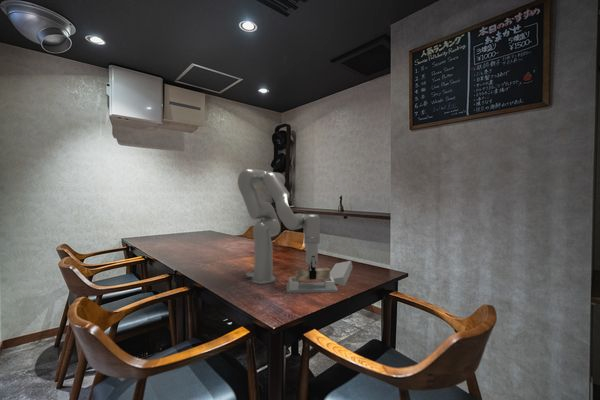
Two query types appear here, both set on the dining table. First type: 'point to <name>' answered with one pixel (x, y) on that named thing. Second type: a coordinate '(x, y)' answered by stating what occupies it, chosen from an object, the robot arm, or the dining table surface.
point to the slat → (320, 274)
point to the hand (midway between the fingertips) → (312, 277)
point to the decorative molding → (341, 272)
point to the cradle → (311, 286)
